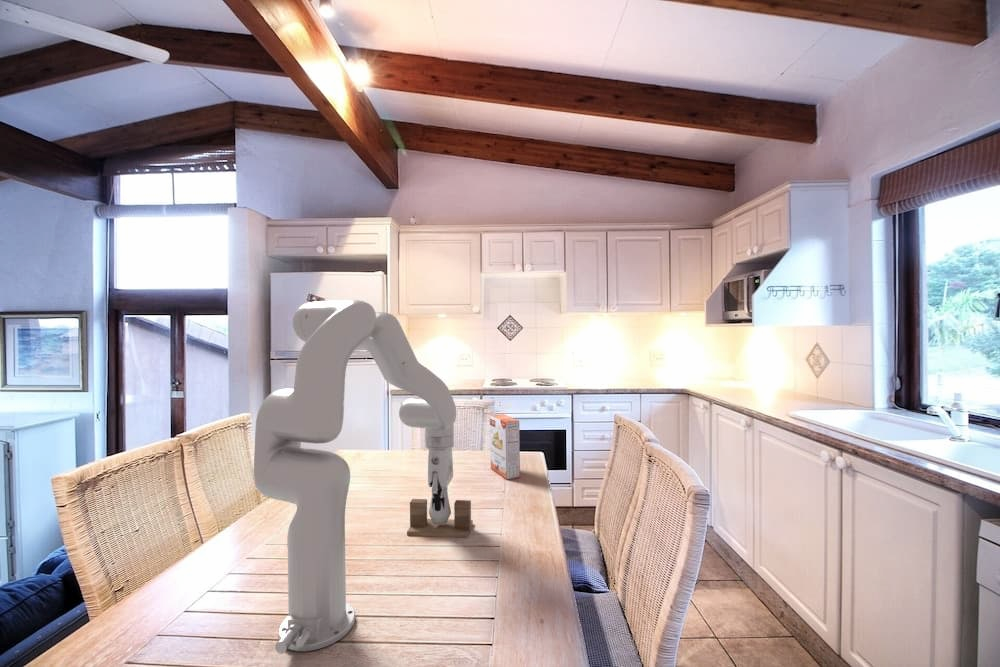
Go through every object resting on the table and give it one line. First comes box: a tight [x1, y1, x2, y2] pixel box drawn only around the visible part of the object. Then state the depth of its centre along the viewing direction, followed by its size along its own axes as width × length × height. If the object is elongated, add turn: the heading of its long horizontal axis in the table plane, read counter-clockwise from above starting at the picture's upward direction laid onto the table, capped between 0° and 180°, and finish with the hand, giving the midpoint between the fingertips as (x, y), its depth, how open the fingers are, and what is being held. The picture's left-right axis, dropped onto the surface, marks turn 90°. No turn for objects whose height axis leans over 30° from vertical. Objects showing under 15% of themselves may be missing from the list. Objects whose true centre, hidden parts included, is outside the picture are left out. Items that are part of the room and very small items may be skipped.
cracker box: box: [489, 413, 521, 481], centre depth 163 cm, size 14×6×21 cm, turn 25°
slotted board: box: [406, 498, 474, 538], centre depth 118 cm, size 8×16×8 cm, turn 84°
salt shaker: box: [428, 484, 452, 524], centre depth 117 cm, size 6×6×13 cm
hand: (440, 509), depth 117 cm, fingers closed on salt shaker, 3 cm apart
